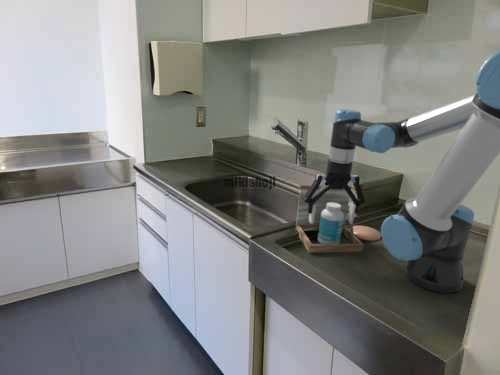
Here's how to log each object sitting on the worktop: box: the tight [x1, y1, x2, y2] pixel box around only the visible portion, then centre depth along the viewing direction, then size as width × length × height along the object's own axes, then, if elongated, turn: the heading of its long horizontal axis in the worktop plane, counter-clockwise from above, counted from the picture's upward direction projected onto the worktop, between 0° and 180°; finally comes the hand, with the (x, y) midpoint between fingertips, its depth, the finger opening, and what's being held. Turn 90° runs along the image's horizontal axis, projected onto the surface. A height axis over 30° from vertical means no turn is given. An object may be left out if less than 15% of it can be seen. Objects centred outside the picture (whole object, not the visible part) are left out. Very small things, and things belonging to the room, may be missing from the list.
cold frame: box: [295, 184, 365, 254], centre depth 121 cm, size 16×19×17 cm
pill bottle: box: [317, 202, 344, 244], centre depth 121 cm, size 8×7×14 cm
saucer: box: [348, 225, 382, 242], centre depth 131 cm, size 11×11×1 cm
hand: (330, 222), depth 121 cm, fingers open, 13 cm apart
